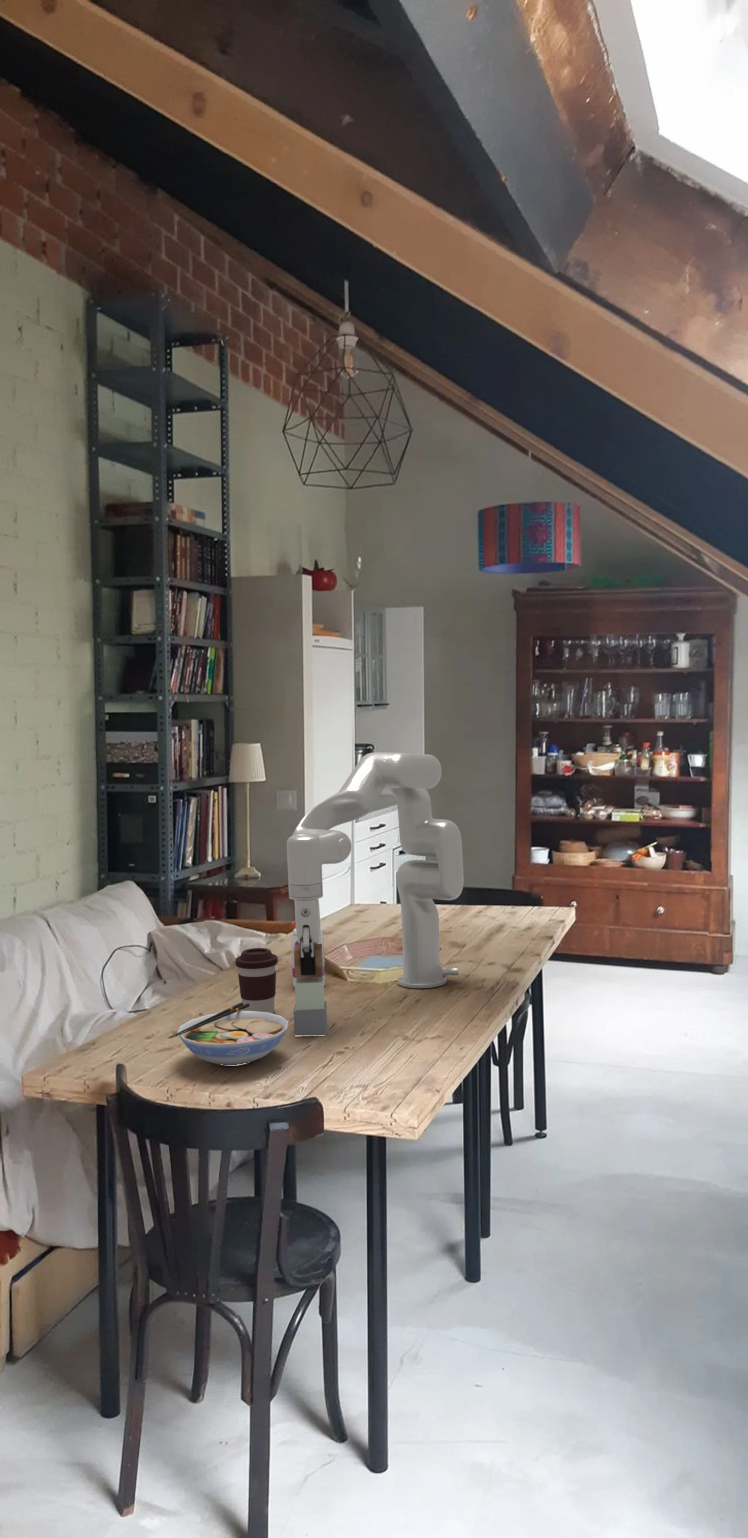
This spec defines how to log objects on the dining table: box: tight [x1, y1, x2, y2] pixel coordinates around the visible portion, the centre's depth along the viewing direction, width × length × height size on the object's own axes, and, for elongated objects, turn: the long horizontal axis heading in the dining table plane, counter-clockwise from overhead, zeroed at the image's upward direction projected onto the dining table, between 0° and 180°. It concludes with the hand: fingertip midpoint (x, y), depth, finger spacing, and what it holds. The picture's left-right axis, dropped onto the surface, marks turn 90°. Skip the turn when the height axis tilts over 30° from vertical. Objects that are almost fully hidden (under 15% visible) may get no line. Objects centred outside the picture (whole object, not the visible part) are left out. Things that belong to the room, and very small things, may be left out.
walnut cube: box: [294, 944, 323, 978], centre depth 249 cm, size 6×6×6 cm
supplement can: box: [290, 927, 326, 988], centre depth 288 cm, size 8×8×15 cm
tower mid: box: [294, 975, 325, 1010], centre depth 250 cm, size 6×6×6 cm
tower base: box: [293, 1000, 328, 1036], centre depth 250 cm, size 7×7×6 cm
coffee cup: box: [235, 947, 279, 1014], centre depth 266 cm, size 10×10×15 cm
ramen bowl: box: [167, 1002, 289, 1065], centre depth 232 cm, size 25×23×8 cm
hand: (309, 970), depth 249 cm, fingers closed on walnut cube, 5 cm apart
